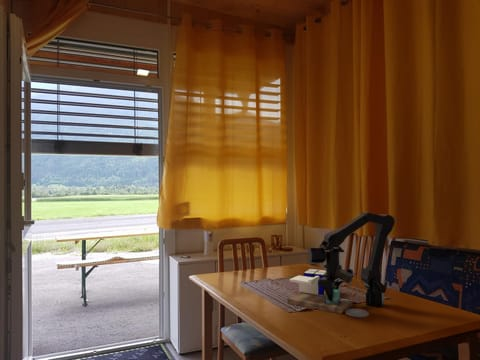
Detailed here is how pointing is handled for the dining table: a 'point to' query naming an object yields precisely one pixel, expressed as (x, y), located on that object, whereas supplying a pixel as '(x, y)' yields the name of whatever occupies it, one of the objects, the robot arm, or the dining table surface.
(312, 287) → the slide cover
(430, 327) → the dining table surface
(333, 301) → the block
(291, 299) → the puzzle board
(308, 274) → the puzzle cube
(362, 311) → the slate mat
